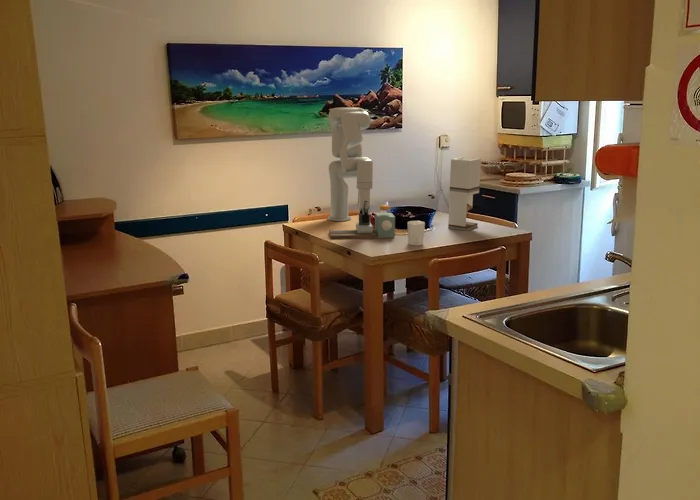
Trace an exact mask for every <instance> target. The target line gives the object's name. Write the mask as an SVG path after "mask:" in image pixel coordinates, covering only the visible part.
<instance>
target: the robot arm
mask: <svg viewBox="0 0 700 500" xmlns="http://www.w3.org/2000/svg"><path fill="white" fill-rule="evenodd" d="M328 121H329V126H330V130H331V154H332V156H333V157H334V158H336V159H337V160H333V161H331V162H330V163H329V164H328V173H329V180H330V215H328V216H327V219H328V221H334V222H335V221H336V222H345V221H346V222H347V221H350V220H352V217H351V216H350V215H349V186H348V184H347V181H345V179H356V189H357V190H358V191H357V208H358V209H359V214H362V223H369V214H370V213H369V211H370V210H371V209H370V208H371V190H372V189H373V177H374V176H373V172H374V168H373V167H374V165H373V164H374V162H373V160H372V159H370V158H369V157H366V156H363V149H362V148H363V147H362V141H363V134H362V130H363V129H365V130H366V129H368V128H370V126H371V117H370V114H369V113H368V112H367V111H366V110H365V109H363V108H361V107H334V108H331V109H330V110H329V112H328ZM338 159H339V160H338Z"/></svg>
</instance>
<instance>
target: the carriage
mask: <svg viewBox="0 0 700 500" xmlns="http://www.w3.org/2000/svg"><path fill="white" fill-rule="evenodd" d="M373 227H374V226H373V224H372V223H371V215H370V213H369V223H362V214H360V213H358V222H355V230H357V233H372V231H373V230H374V229H373Z"/></svg>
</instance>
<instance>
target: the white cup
mask: <svg viewBox="0 0 700 500" xmlns="http://www.w3.org/2000/svg"><path fill="white" fill-rule="evenodd" d="M425 226H426V223H425V221H421V220H410V221H407V243H408V245H410V244H411V245H410V246H422V245H424V237H425V230H426V229H425Z"/></svg>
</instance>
